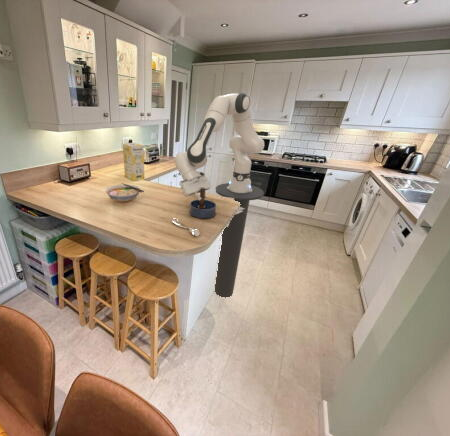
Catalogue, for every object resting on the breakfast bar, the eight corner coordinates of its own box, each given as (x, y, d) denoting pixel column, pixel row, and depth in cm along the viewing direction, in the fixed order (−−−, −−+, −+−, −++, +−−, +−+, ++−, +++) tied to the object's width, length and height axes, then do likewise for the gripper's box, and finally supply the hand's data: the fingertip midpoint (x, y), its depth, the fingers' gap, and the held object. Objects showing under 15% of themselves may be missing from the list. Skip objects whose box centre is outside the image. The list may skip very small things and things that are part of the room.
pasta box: (144, 179, 201) (143, 145, 189) (133, 180, 196) (131, 146, 184) (135, 174, 215) (133, 142, 203) (124, 175, 210) (122, 143, 198)
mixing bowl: (193, 206, 147) (194, 198, 144) (217, 211, 141) (218, 201, 139) (185, 216, 135) (186, 206, 132) (211, 221, 129) (212, 211, 126)
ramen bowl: (100, 198, 159) (98, 187, 155) (128, 191, 172) (127, 180, 169) (118, 210, 142) (117, 197, 138) (148, 201, 155) (148, 189, 151)
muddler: (198, 209, 138) (200, 186, 131) (205, 210, 136) (207, 187, 130) (196, 211, 134) (197, 188, 128) (203, 213, 132) (205, 189, 126)
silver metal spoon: (169, 216, 126) (176, 213, 128) (169, 221, 127) (175, 219, 130) (194, 232, 112) (201, 230, 114) (194, 239, 114) (201, 236, 116)
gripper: (181, 178, 125) (193, 200, 123) (206, 172, 137) (217, 192, 134) (175, 184, 130) (186, 205, 128) (200, 177, 142) (211, 197, 139)
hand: (203, 198), depth 131 cm, fingers closed on muddler, 2 cm apart
